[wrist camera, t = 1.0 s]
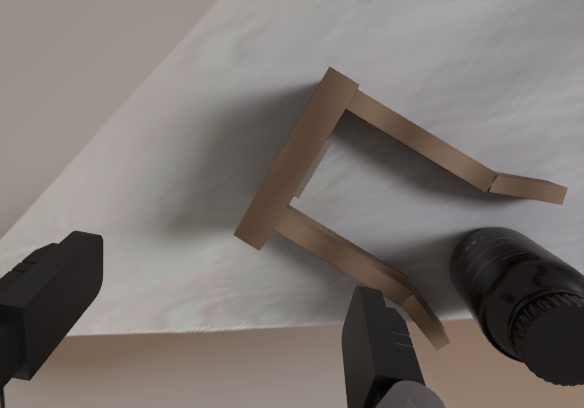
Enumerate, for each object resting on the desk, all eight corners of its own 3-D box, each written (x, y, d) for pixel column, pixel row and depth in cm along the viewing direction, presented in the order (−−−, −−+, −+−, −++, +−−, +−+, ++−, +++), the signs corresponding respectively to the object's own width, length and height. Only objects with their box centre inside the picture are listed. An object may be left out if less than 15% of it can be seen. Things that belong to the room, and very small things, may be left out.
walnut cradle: (551, 183, 31) (620, 207, 23) (433, 332, 34) (458, 396, 27) (344, 59, 31) (343, 41, 23) (250, 222, 34) (222, 254, 27)
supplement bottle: (555, 271, 32) (673, 361, 20) (482, 319, 34) (552, 428, 22) (501, 206, 31) (591, 261, 20) (429, 258, 33) (473, 337, 22)
